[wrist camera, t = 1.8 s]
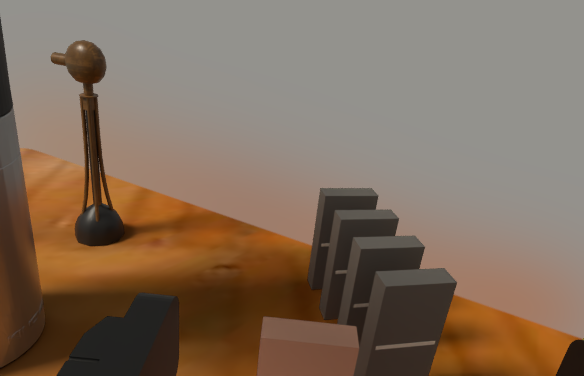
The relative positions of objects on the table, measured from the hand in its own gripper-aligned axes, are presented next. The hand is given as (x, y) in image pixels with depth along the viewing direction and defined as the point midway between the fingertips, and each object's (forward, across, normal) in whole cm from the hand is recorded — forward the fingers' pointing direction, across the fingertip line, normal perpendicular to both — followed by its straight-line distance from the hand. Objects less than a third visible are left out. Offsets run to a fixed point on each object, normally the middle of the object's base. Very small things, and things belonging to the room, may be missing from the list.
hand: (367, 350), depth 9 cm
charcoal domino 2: (+26, -5, +19) cm, 32 cm away
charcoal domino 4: (+17, -7, +19) cm, 27 cm away
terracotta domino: (+11, 0, +19) cm, 22 cm away
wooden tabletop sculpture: (+34, +22, +19) cm, 45 cm away
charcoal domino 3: (+22, -6, +19) cm, 30 cm away
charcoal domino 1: (+30, -4, +19) cm, 36 cm away
